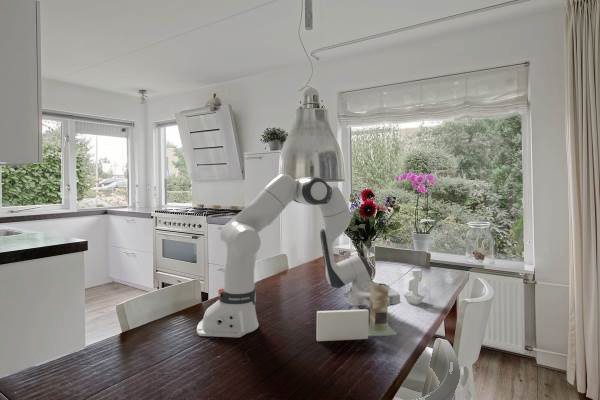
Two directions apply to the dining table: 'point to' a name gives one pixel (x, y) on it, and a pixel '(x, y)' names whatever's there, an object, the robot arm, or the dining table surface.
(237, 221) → the robot arm
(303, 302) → the dining table surface
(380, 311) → the marked block
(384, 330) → the pad
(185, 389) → the dining table surface
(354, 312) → the upright white panel
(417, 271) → the figurine
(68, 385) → the dining table surface
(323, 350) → the dining table surface
